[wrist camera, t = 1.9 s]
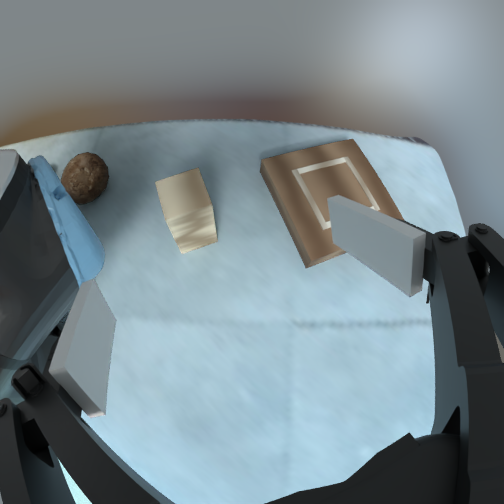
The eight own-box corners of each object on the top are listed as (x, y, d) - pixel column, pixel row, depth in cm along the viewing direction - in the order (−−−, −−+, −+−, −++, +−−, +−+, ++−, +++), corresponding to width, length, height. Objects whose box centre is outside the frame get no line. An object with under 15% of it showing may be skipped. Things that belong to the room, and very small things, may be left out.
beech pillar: (181, 254, 38) (165, 220, 29) (172, 221, 40) (155, 181, 30) (217, 241, 39) (212, 204, 30) (206, 210, 40) (198, 167, 31)
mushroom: (65, 157, 39) (60, 150, 34) (110, 156, 43) (110, 149, 38) (63, 205, 40) (57, 204, 35) (107, 204, 44) (108, 202, 39)
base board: (306, 268, 38) (311, 260, 35) (259, 171, 43) (261, 158, 40) (396, 231, 41) (406, 222, 38) (347, 149, 46) (353, 137, 43)
